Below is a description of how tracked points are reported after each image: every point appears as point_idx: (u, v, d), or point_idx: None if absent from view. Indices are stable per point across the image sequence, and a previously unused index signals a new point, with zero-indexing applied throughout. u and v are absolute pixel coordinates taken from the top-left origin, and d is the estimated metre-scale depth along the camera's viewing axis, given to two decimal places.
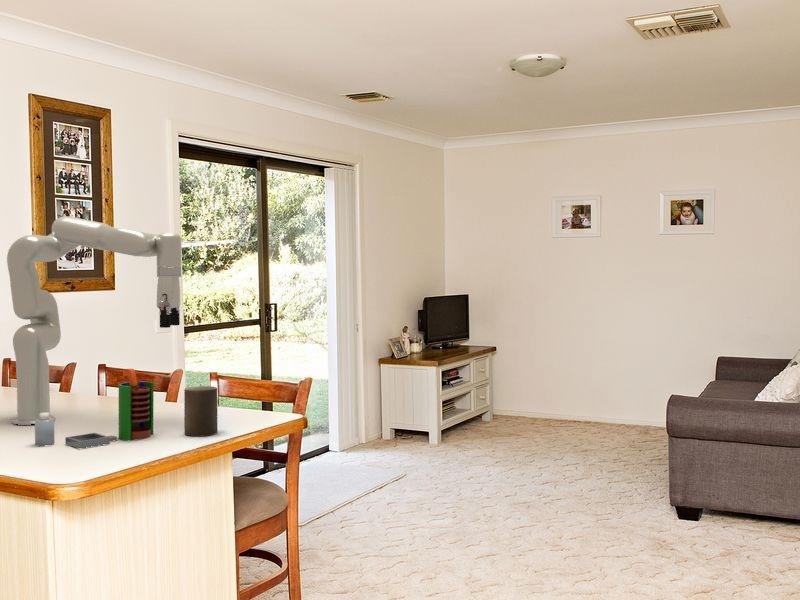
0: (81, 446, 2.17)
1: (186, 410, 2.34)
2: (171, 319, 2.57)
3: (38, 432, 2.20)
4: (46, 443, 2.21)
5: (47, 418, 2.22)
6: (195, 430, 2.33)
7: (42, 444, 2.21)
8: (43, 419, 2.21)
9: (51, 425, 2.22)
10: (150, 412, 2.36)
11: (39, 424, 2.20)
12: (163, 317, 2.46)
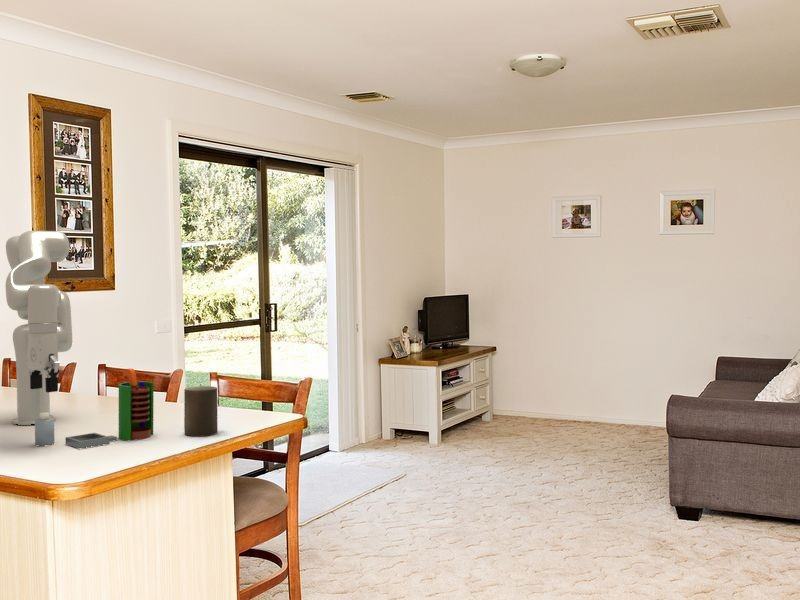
0: (81, 446, 2.17)
1: (186, 410, 2.34)
2: (34, 382, 2.24)
3: (38, 432, 2.20)
4: (46, 443, 2.21)
5: (47, 418, 2.22)
6: (195, 430, 2.33)
7: (42, 444, 2.21)
8: (43, 419, 2.21)
9: (51, 425, 2.22)
10: (150, 412, 2.36)
11: (39, 424, 2.20)
12: (52, 381, 2.18)
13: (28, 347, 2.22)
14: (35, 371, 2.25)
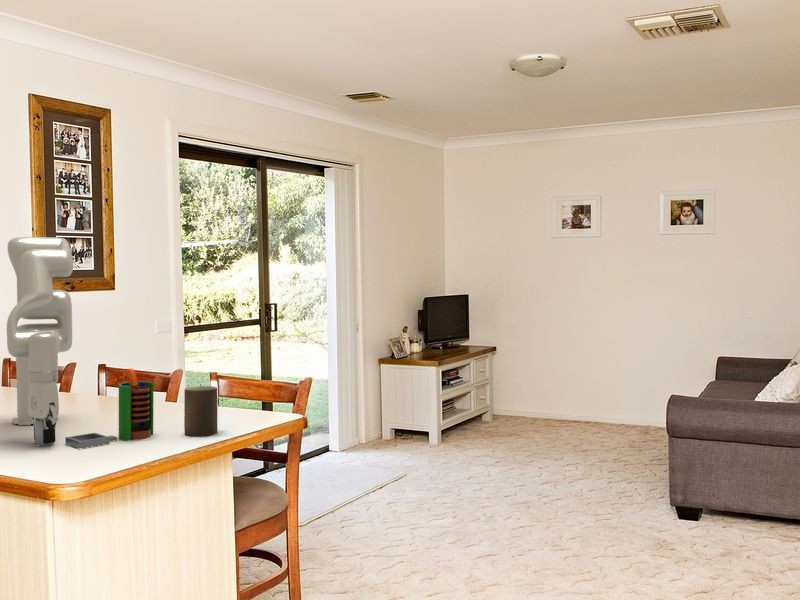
0: (81, 446, 2.17)
1: (186, 410, 2.34)
2: None
3: (38, 432, 2.20)
4: None
5: None
6: (195, 430, 2.33)
7: (42, 444, 2.21)
8: None
9: None
10: (150, 412, 2.36)
11: (39, 424, 2.20)
12: (49, 432, 2.20)
13: (29, 395, 2.23)
14: None
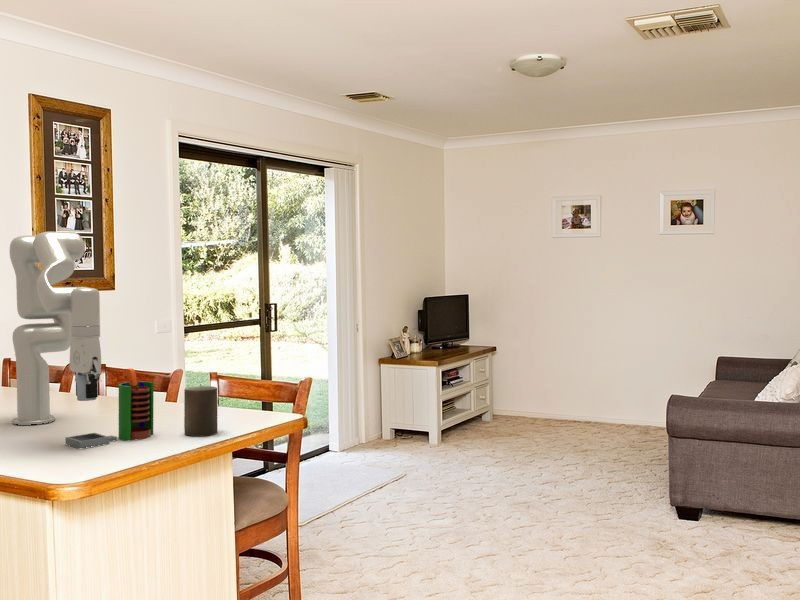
0: (81, 446, 2.17)
1: (186, 410, 2.34)
2: None
3: (81, 387, 2.20)
4: (88, 398, 2.20)
5: None
6: (195, 430, 2.33)
7: (84, 399, 2.20)
8: (85, 374, 2.21)
9: None
10: (150, 412, 2.36)
11: (81, 379, 2.20)
12: (92, 387, 2.19)
13: (71, 350, 2.22)
14: None
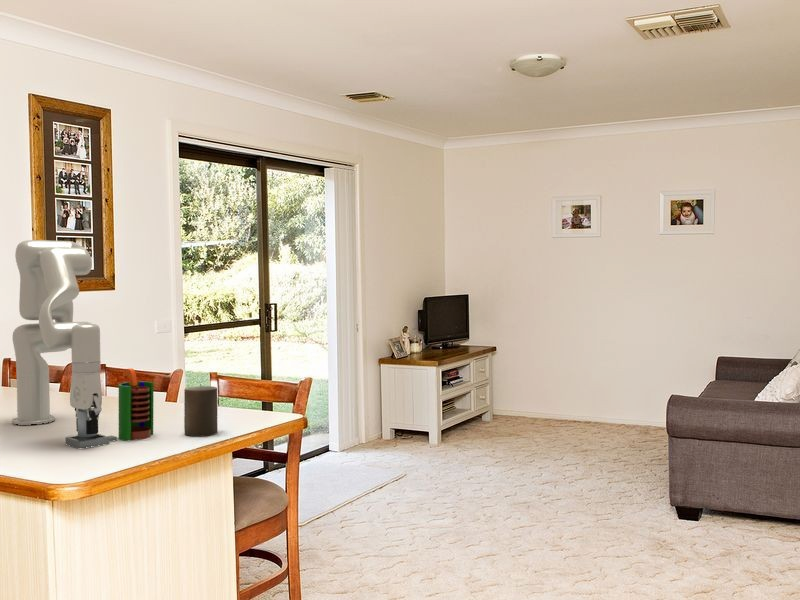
0: (81, 446, 2.17)
1: (186, 410, 2.34)
2: None
3: (81, 423, 2.20)
4: None
5: None
6: (195, 430, 2.33)
7: (85, 435, 2.20)
8: None
9: None
10: (150, 412, 2.36)
11: (82, 415, 2.20)
12: (92, 423, 2.20)
13: (71, 386, 2.23)
14: None
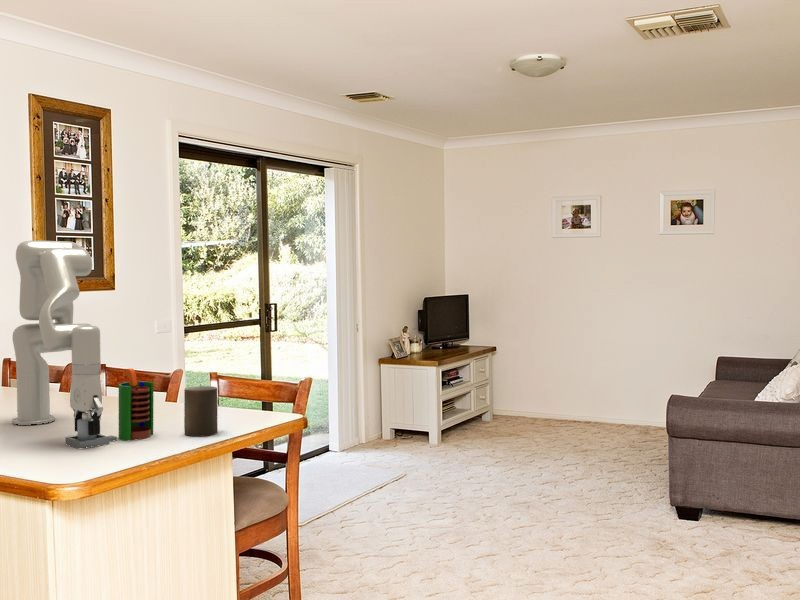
0: (81, 446, 2.17)
1: (186, 410, 2.34)
2: None
3: (81, 432, 2.20)
4: None
5: None
6: (195, 430, 2.33)
7: None
8: (86, 419, 2.22)
9: None
10: (150, 412, 2.36)
11: (82, 424, 2.20)
12: (94, 424, 2.19)
13: (71, 387, 2.23)
14: (79, 413, 2.25)
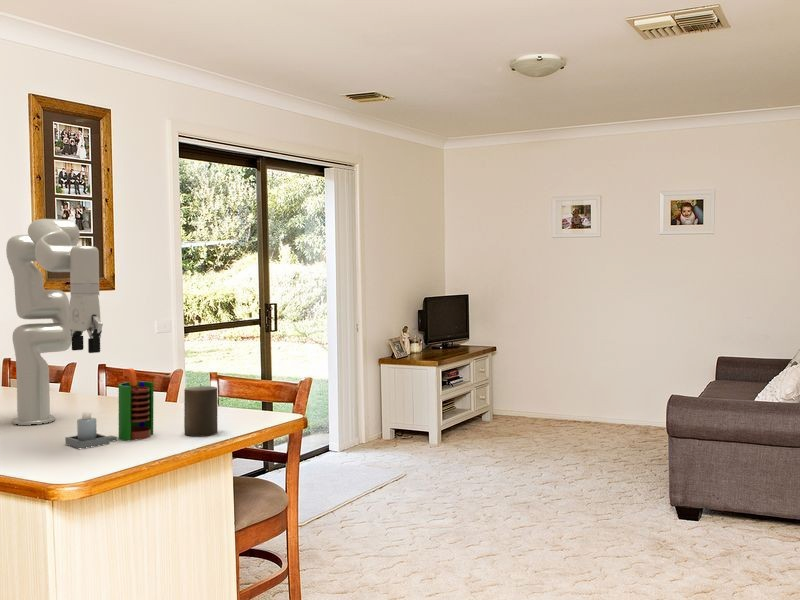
0: (81, 446, 2.17)
1: (186, 410, 2.34)
2: (75, 343, 2.24)
3: (81, 432, 2.20)
4: None
5: (89, 418, 2.22)
6: (195, 430, 2.33)
7: None
8: (86, 419, 2.22)
9: (93, 425, 2.22)
10: (150, 412, 2.36)
11: (82, 424, 2.20)
12: (94, 341, 2.18)
13: (70, 308, 2.22)
14: (76, 332, 2.25)
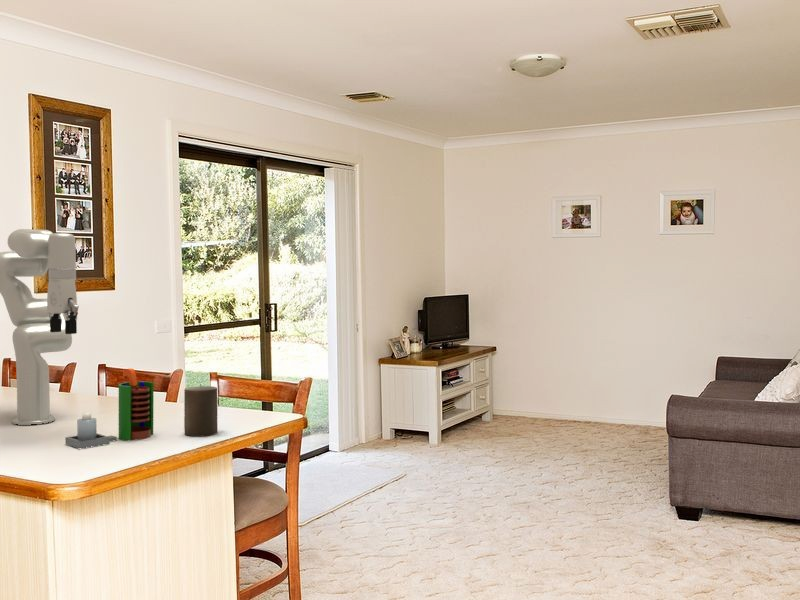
0: (81, 446, 2.17)
1: (186, 410, 2.34)
2: (53, 325, 2.38)
3: (81, 432, 2.20)
4: None
5: (90, 418, 2.22)
6: (195, 430, 2.33)
7: None
8: (86, 419, 2.22)
9: (93, 425, 2.22)
10: (150, 412, 2.36)
11: (82, 424, 2.20)
12: (71, 323, 2.31)
13: (48, 292, 2.35)
14: (54, 315, 2.38)
